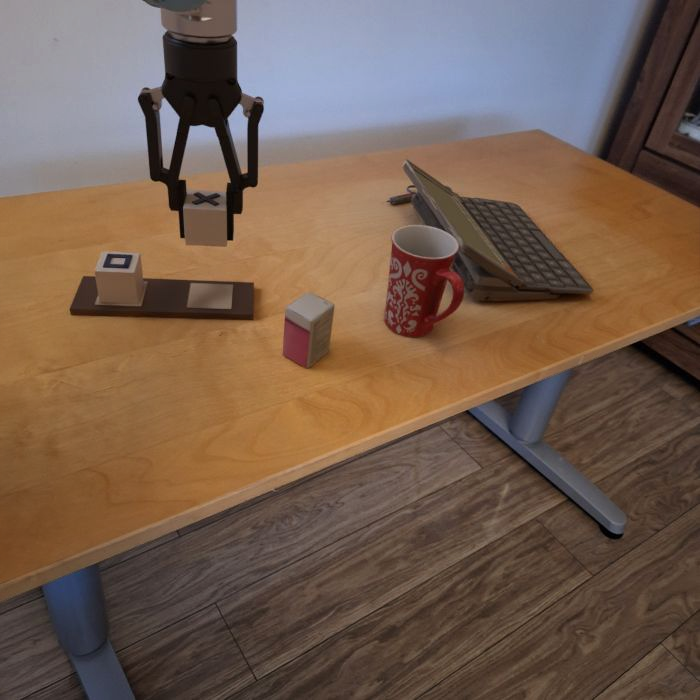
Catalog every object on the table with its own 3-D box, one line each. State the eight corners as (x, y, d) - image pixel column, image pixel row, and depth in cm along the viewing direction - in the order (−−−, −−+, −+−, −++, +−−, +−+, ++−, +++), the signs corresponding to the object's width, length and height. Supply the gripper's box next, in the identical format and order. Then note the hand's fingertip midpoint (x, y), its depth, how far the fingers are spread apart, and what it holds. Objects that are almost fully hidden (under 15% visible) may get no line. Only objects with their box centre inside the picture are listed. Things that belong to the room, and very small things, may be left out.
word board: (70, 314, 82) (69, 308, 82) (84, 281, 88) (82, 275, 88) (253, 320, 86) (253, 313, 85) (253, 287, 92) (253, 281, 91)
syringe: (367, 198, 120) (368, 190, 119) (437, 184, 129) (438, 176, 128) (391, 216, 115) (392, 207, 114) (461, 200, 124) (463, 192, 123)
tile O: (106, 281, 87) (101, 249, 84) (143, 283, 88) (140, 251, 85) (99, 302, 83) (94, 269, 80) (138, 303, 84) (134, 271, 81)
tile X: (189, 225, 80) (187, 187, 77) (228, 227, 81) (228, 190, 77) (185, 245, 76) (182, 206, 73) (226, 247, 77) (226, 208, 73)
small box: (304, 337, 84) (308, 289, 79) (330, 351, 83) (335, 303, 78) (280, 355, 81) (283, 306, 76) (307, 370, 79) (311, 321, 74)
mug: (365, 312, 90) (378, 230, 82) (414, 298, 95) (431, 219, 86) (415, 363, 83) (436, 279, 74) (466, 346, 87) (491, 264, 78)
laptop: (446, 306, 94) (462, 246, 87) (392, 208, 118) (401, 155, 111) (593, 302, 100) (619, 245, 93) (514, 209, 124) (529, 159, 117)
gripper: (100, 33, 59) (128, 245, 74) (289, 51, 62) (279, 252, 77) (115, 15, 65) (138, 216, 80) (287, 32, 68) (278, 223, 82)
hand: (207, 233), depth 78 cm, fingers closed on tile X, 5 cm apart
